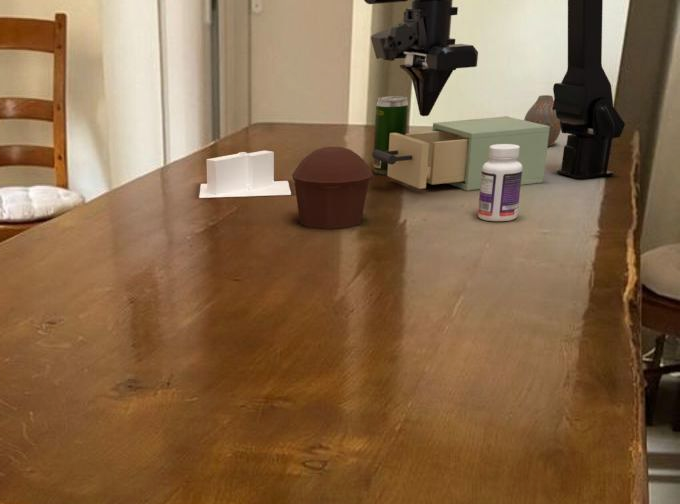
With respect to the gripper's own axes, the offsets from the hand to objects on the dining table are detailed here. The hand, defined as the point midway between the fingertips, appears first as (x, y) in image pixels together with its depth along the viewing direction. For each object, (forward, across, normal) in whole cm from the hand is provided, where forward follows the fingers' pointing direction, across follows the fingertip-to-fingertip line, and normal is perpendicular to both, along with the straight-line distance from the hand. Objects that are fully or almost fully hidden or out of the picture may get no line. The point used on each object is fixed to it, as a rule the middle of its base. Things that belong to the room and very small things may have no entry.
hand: (424, 115), depth 151 cm
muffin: (+12, +10, -18) cm, 24 cm away
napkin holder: (+12, -17, -23) cm, 31 cm away
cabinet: (+12, -7, +15) cm, 21 cm away
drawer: (+11, -7, +5) cm, 14 cm away
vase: (+12, -31, +40) cm, 52 cm away
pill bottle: (+12, +17, +4) cm, 21 cm away
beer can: (+12, -20, +4) cm, 24 cm away
